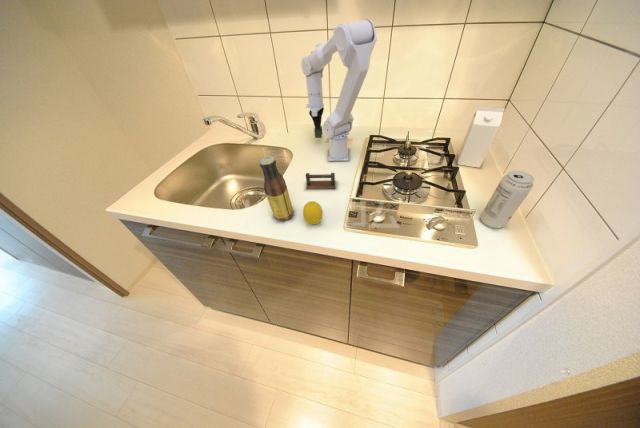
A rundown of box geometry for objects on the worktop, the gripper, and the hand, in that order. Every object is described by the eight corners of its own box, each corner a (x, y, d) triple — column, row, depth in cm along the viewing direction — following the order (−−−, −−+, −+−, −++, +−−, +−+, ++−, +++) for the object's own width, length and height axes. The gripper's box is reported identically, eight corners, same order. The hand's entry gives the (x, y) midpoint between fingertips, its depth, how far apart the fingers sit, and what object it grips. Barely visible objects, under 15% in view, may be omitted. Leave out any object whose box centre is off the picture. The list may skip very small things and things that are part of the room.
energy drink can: (507, 231, 59) (542, 185, 49) (481, 228, 61) (509, 182, 50) (501, 215, 63) (531, 170, 53) (477, 213, 65) (502, 168, 54)
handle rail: (307, 182, 82) (306, 170, 78) (335, 182, 81) (335, 170, 77) (306, 189, 79) (304, 177, 76) (335, 189, 78) (334, 177, 74)
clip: (315, 134, 102) (314, 119, 97) (322, 134, 101) (321, 119, 97) (315, 138, 99) (313, 123, 94) (321, 137, 99) (320, 122, 94)
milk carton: (458, 155, 87) (478, 102, 74) (479, 158, 84) (504, 104, 71) (457, 164, 83) (478, 110, 69) (479, 168, 80) (506, 113, 67)
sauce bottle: (285, 205, 74) (271, 149, 60) (297, 214, 70) (286, 157, 56) (269, 216, 71) (250, 160, 57) (281, 226, 67) (264, 168, 53)
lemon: (321, 230, 65) (319, 210, 59) (302, 228, 66) (298, 208, 60) (325, 217, 68) (323, 196, 63) (307, 215, 70) (304, 195, 64)
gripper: (307, 87, 94) (310, 120, 103) (302, 99, 83) (306, 134, 93) (324, 86, 93) (326, 120, 102) (321, 98, 82) (323, 134, 92)
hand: (318, 127), depth 97 cm, fingers closed on clip
